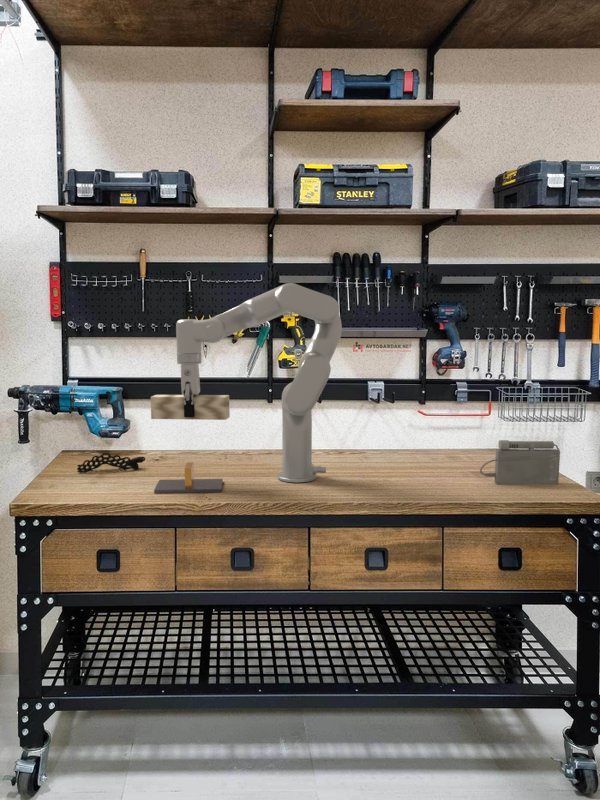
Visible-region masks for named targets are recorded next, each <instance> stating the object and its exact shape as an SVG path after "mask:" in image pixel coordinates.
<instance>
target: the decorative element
mask: <svg viewBox="0 0 600 800" xmlns="http://www.w3.org/2000/svg"><path fill="white" fill-rule="evenodd" d="M105 455H107V456H105ZM116 458H117V459H116ZM94 459H95V460H94ZM126 459H127V460H126ZM145 461H146V457H145V456H137V457H135V458H132V459H131V458H130V457H128V456H124V457H121V456H120V455H118V454H114V455H111V454H110V453H109V452H104V453H102V454H100V455H99V456H98V455H94V456H92V458H91V459H90V460H89V459H86V460H84V461H83V463H82V464H77V468H76V470H77V473H87V472H88V473H89V472H90V471H93V470H96V469H99V468H100V467H101V466H102V465H108V466H111V467H114V468H119V469H122V470H125V469H126V470H130V469H132V470H133V471H138V470H139V469H140V468H139V467H140V465H139V464H142V463H144V462H145ZM96 463H97V464H96Z"/></svg>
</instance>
